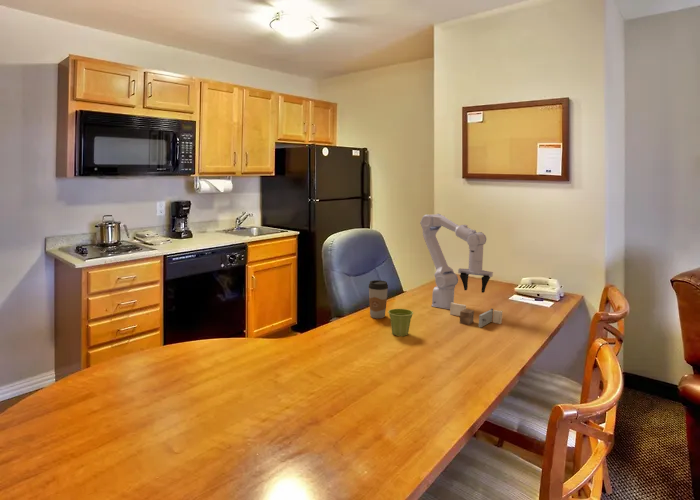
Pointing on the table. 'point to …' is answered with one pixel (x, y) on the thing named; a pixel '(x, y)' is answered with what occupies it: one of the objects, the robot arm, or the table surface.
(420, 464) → the table surface
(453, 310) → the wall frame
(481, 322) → the door
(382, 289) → the coffee cup
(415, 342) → the table surface
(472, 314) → the block
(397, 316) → the plant pot
